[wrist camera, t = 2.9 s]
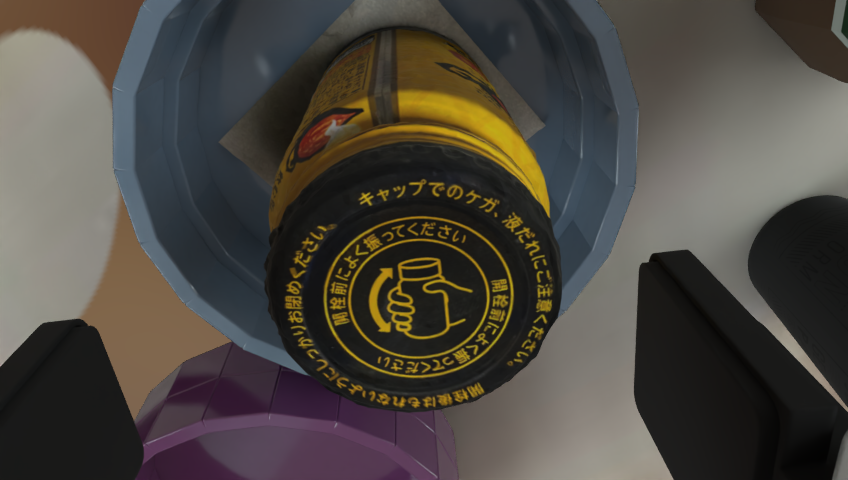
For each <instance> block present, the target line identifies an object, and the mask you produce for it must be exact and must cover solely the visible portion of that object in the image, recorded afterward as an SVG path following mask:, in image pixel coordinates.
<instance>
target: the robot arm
mask: <svg viewBox="0 0 848 480" xmlns="http://www.w3.org/2000/svg"><path fill="white" fill-rule="evenodd" d="M634 396H635V402H636V405H637V409H638V411H639V413H640V415H641V417H642V419H643V421H644V423H645V425H646V427H647V429H648V431H649V433H650V434H651V436H652V438H653V440H654V442H655V444H656V446H657V448H658V450H659V452H660V454H661V456H662V458H663V460H664V462H665V463H666V465H667V467H668V469H669V471H670V473H671V475H672V477H673V479H674V480H848V412H847V411H846V410H845V409H844V408H843V407H842V406H841V405H840V404H839V403H838V402H837V401H836V399H835V398H834V397H833V396H832V395H831V394H830V393H829V392H828V391H827V390H826V389H825V388H824V387H823V386H822V385H821V384H820V383H819V382H818V381H817V380H816V379H815V378H814V377H813V376H812V375H811V374H810V373H809V372H808V371H807V370H806V369H805V367H804V366H803V365H802V364H801V363H800V362H799V361H798V360H797V359H796V358H795V357H794V356H793V355H792V354H791V353H790V352H789V351H788V350H787V349H786V348H785V347H784V346H783V345H782V344H781V343H780V342H779V341H778V340H777V339H776V338H775V336H774V335H773V334H772V333H771V332H770V331H769V330H768V329H767V328H766V327H765V326H764V325H763V324H761V323H760V322H759V321H757V320H756V319H755V318H754V317H753V316H752V315H751V314H750V313H749V312H748V311H747V310H746V309H745V308H744V307H743V306H742V305H741V304H740V302H739V301H738V300H737V299H736V298H735V297H734V296H733V295H732V294H731V293H730V292H729V291H728V290H727V289H726V288H725V287H724V286H723V285H722V284H721V283H720V282H719V281H718V280H717V279H716V278H715V277H714V275H713V274H712V273H711V272H710V271H709V270H708V269H707V268H706V267H705V266H704V265H703V264H702V263H701V262H700V261H699V260H698V259H697V258H696V257H695V256H694V255H693V254H692V253H691V252H690V251H689V250H679V251H670V252H661V253H653V254H652V255H651V257H650V260H649V262H647V263H642V264H641V265H640V268H639V282H638V306H637V329H636V353H635V377H634ZM143 459H144V447H143V443H142V441H141V438H140V436H139V433H138V431H137V428H136V425H135V423H134V420H133V418H132V416H131V413H130V410H129V408H128V405H127V403H126V400H125V398H124V395H123V393H122V390H121V387H120V386H119V382H118V380H117V377H116V375H115V372H114V370H113V367H112V365H111V362H110V360H109V357H108V355H107V352H106V350H105V347H104V344H103V342H102V339H101V337H100V334H99V332H98V331H97V329H96V328H95V327H93V326H88V325H87V324H86V323H85V322H84V321H83V320H81V319H72V320H64V321H55V322H47V323H43V324H42V325H40V326H39V327H38V328H37V329H36V330H35V331H34V332H33V333H32V334H31V335H30V336H29V337H28V338H27V339H26V341H25V342H24V343H23V344H22V345H21V346H20V347H19V348H18V349H17V350H16V351H15V352H14V353H13V354H12V355H11V356H10V357H9V358H8V359H7V360H6V361H5V362H4V364H3V365H2V366H1V367H0V480H135V479H136V477H137V475H138V473H139V471H140V469H141V467H142V464H143Z"/></svg>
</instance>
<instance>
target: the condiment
mask: <svg viewBox="0 0 848 480" xmlns="http://www.w3.org/2000/svg"><path fill="white" fill-rule="evenodd" d="M545 126H546V125H545V124H544V123H543V122H542V121H541V120H540V118H539V117H538V116H537V115H536V114H535V113H534V111H533V110H532V109H531V108H530V107H529V106H528V104H527V103H526V102H525V101H524V99H523V98H522V97H521V96H520V95H519V94H518V93H517V92H516V90H515V89H514V88H513V87H512V86H511V85H510V84H509V82H508V81H507V80H506V79H505V78H504V76H503V75H502V74H501V73H500V72H499V71H498V70H497V68H496V67H495V66H494V65H493V64H492V62H491V61H490V60H489V59H488V58H487V57H486V56H485V54H484V53H483V52H482V51H481V50H480V49H479V47H478V46H477V45H476V44H475V43H474V42H473V41H472V39H471V38H470V37H469V36H468V35H467V34H466V32H465V31H464V30H463V29H462V28H461V27H460V25H459V24H458V23H457V22H456V21H455V20H454V18H453V17H452V16H451V15H450V14H449V13H448V11H447V10H446V9H445V8H444V7H443V6H442V5H441V3H440V2H439V1H438V0H355V1H354V2H353V3H352V4H351V5H350V6H349V7H348V8H347V9H346V10H345V11H344V12H343V13H342V14H341V15H340V16H339V17H338V18H337V19H336V20H335V22H334V23H333V24H332V25H331V26H330V27H329V28H328V29H327V30H326V31H325V32H324V33H323V34H322V35H321V36H320V37H319V38H318V39H317V40H316V41H315V42H314V43H313V44H312V45H311V46H310V47H309V49H308V50H307V51H306V52H305V53H304V54H303V55H301V57H300V58H299V59H298V60H297V61H296V62H295V63H294V64H293V65H292V66H291V67H290V68H289V69H288V70H287V71H286V73H285V74H284V75H283V76H282V77H281V78H280V79H279V80H278V81H277V82H276V83H275V84H274V85H273V86H272V87H271V88H270V89H269V90H268V91H267V92H266V93H265V94H264V95H263V96H262V97H261V98H260V99H259V100H258V101H257V102H256V103H255V104H254V106H253V107H252V108H251V109H250V110H249V111H248V112H247V113H246V114H245V115H244V116H243V117H242V118H241V119H240V120H239V121H238V122H237V123H236V124H235V125H234V126H233V127H232V129H231V130H230V131H229V132H228V133H227V134H226V135H225V136H224V137H223V138H222V139H221V140H220V141H219V143H220V144H221V145H222V146H224V147H225V148H226V149H227V150H228V151H230V152H231V153H232V154H233V155H234V156H235V157H237V158H238V159H240V160H241V161H242V162H244V163H245V164H246V165H247V166H248V167H249V168H250V169H252V170H253V171H254V172H255V173H257V174H258V175H259V176H260V177H261V178H262V179H263V180H265V181H266V182H267V183H268V184H269V185H270V186H271V187H273V188H272V194H271V200H270V207H269V225H270V231H271V234H270V235H269V244H270V247H271V250H270V252H269V253H268V255H267V257H266V261H265V263H264V269H265V271H266V274H267V276H266V279H265V281H264V284H265V287H264V290H265V293H266V295H267V297H268V299H269V304H268V312H269V314H270V315H271V319H272V320H273V321H274V322H275V324H276V326H277V328H278V334H279V335H280V336H281V340H282V343H283V346H284V348H285V350H286V351H287V353H288V354H289V355H290V356H291V358H292V359H293V360H294V361H295V362H296V363H297V364H298V365H299V366H300V367H301V368H302V369H303V370H304V371H305V372H306V373H307V374H308V375H310V376H311V377H313V378H314V379H316V380H317V381H318V382H319V383H320V384H321V385H323V386H324V387H325V388H326V389H327V390H329V391H331V392H333V393H335V394H337V395H339V396H342V397H344V398H346V399H348V400H350V401H352V402H354V403H355V404H357V405H361V406H365V407H367V408H375V409H382V410H389V411H396V412H406V413H413V412H427V411H431V410H440V409H444V408H448V407H452V406H455V405H459V404H463V403H470V402H473V401H476V400H478V399H479V398H481V397H482V396H484V395H486V394H488V393H490V392H492V391H494V390H495V389H497V388H499V387H500V386H502V385H503V384H504V383H506V382H508V381H510V380H511V379H512V378H513V377H514V375H516V374H517V373H518V372H519V371H521V370H522V369H523V368H525V367H526V366H527V365H528V364H529V362H530V361H531V360H532V359H534V358H535V357H536V356H537V354H538V352H539V350H540V347H541V345H542V342H543V340H544V339H545V337H546V335H547V333H548V331H549V330H550V328H551V326H552V325H553V323H554V322H555V321H556V319H557V318H558V315H559V310H560V305H561V299H562V270H561V255H560V247H559V244H558V242H557V240H556V238H555V237H554V232H553V227H552V221H551V219H550V214H549V211H550V203H549V198H548V193H547V188H546V184H545V179H544V175H543V173H542V171H541V169H540V166H539V165H538V163H537V160H536V153H535V152H534V150H533V149H531V148H530V147H529V145H528V144H527V142H526V140H528V139H529V138H530V137H531V136H533V135H534V134H535V133H536V132H538V131H539V130H540V129H542V128H544V127H545Z"/></svg>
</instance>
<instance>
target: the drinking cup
mask: <svg viewBox="0 0 848 480" xmlns="http://www.w3.org/2000/svg"><path fill="white" fill-rule="evenodd" d="M748 271H749V276H750V279H751V281H752V284H753V285H754V287H755V288H756V290H757V291H758V292H759V293H760V295H761V296H762V297H763V299H764V300H765V301H766V302H767V304H768V305H769V306H770V308H771V309H772V310H773V311H774V313H775V314H776V315H777V317H778V318H779V319H780V321H781V322H782V323H783V324H784V326H785V327H786V328H787V330H788V331H789V332H790V333H791V335H792V336H793V337H794V339H795V340H796V341H797V342H798V344H799V345H800V346H801V348H802V349H803V350H804V352H805V353H806V354H807V355H808V357H809V358H810V359H811V361H812V362H813V363H814V364H815V366H816V367H817V368H818V370H819V371H820V372H821V374H822V375H823V376H824V377H825V379H826V380H827V381H828V383H829V384H830V385H831V386H832V388H833V389H834V390H835V392H836V393H837V394H838V395H839V397H840V398H841V399H842V401H843V402H844V403H845V405H846V406H847V407H848V199H846V198H842V197H838V196H816V197H811V198H807V199H804V200H801V201H798V202H796V203H794V204H792V205H790V206H788V207H786V208H784V209H783V210H781V211H780V212H779V213H777V214H776V215H775V216H774V217H772V218H771V219H770V220H769V221H768V222H767V223H766V224H765V225H764V227H763V228H762V229H761V230H760V232H759V233H758V235H757V237H756V238H755V240H754V242H753V244H752V247H751V250H750V253H749V258H748Z"/></svg>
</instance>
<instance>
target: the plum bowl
mask: <svg viewBox="0 0 848 480" xmlns="http://www.w3.org/2000/svg"><path fill="white" fill-rule="evenodd" d="M134 423H135V425H136V428H137V431H138V433H139V436H140V438H141V441H142V443H143V447H144V459H143V464H142V467H141V469H140V471H139V473H138V475H137V477H136V479H135V480H459V476H458V467H457V459H456V450H455V441H454V434H453V430H452V428H451V427H450V425H449V423H448V421H447V420H446V418H445V416H444V414H443V413H442V411H441V409H440V410H431V411H427V412H413V413H406V412H396V411H389V410H382V409H375V408H367V407H365V406H361V405H357V404H355V403H354V402H352V401H350V400H348V399H346V398H344V397H342V396H339V395H337V394H335V393H333V392H331V391H329V390H327V389H326V388H325V387H324V386H323V385H321V384H320V383H319V382H318V381H317V380H316V379H314V378H313V377H311V376H309V375H304V374H302V373H299V372H297V371H294V370H292V369H289V368H287V367H285V366H282V365H280V364H277V363H275V362H272V361H270V360H268V359H265V358H263V357H260V356H258V355H255V354H253V353H251V352H248V351H246V350H243V349H242V348H241V347H239V346H238V345H237V344H235V343H234V342H233V341H232V342H230V343H227V344H225V345H222V346H220V347H217V348H215V349H213V350H210V351H208V352H205V353H203V354H201V355H198V356H196V357H193V358H191V359H189V360H186V361H185V362H183V363H182V364H181V365H180V366H179V367H178V368H176V369H175V370H174V371H173V372H172V373H171V374H170V375H168V376H167V377H166V378H165V379H164V380H163V381H162V382H161V383H160V384H158V385H157V386H156V387H155V388H154V389H153V390H152V391H151V392H150V393H149V395H148V397H147V398H146V400H145V402H144V404H143V406H142V408H141V409H140V411H139V413H138V415H137V417H136V419H135V421H134Z"/></svg>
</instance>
